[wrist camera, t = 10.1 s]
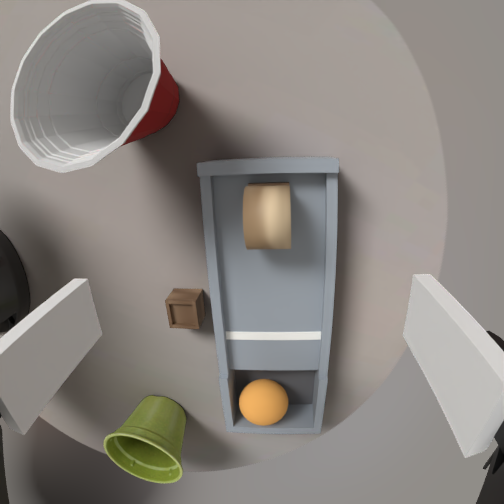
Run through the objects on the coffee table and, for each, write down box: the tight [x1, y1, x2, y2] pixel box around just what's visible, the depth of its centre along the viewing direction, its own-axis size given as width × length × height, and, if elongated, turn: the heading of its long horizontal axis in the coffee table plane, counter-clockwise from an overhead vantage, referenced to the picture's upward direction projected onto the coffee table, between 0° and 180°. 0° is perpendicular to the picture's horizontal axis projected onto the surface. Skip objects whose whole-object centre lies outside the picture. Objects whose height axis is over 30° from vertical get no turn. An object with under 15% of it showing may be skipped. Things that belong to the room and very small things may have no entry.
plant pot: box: [103, 395, 186, 483], centre depth 32 cm, size 9×9×9 cm
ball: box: [239, 379, 288, 426], centre depth 30 cm, size 5×5×5 cm
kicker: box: [243, 182, 291, 250], centre depth 22 cm, size 3×4×4 cm
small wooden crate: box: [165, 289, 205, 329], centre depth 29 cm, size 3×3×3 cm
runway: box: [197, 157, 339, 434], centre depth 28 cm, size 10×27×4 cm, turn 2°
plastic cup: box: [10, 0, 179, 173], centre depth 19 cm, size 11×11×12 cm
